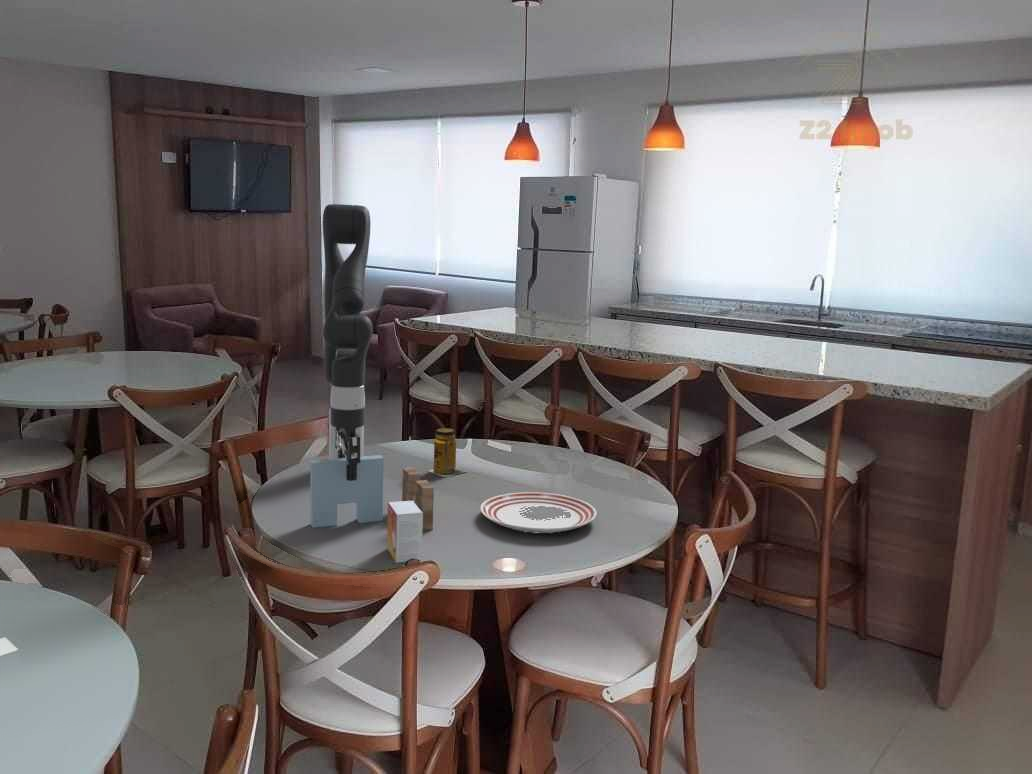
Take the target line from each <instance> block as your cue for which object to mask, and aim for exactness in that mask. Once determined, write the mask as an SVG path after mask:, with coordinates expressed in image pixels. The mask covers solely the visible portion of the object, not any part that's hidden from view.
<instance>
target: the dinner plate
mask: <svg viewBox="0 0 1032 774" xmlns="http://www.w3.org/2000/svg"><path fill="white" fill-rule="evenodd" d="M525 506H526V507H525ZM532 506H534V507H538V506H545V507H556V508H561V509H563V510H567V511H564V512H570V514H571V517H570V518H564V517H566V516H565V515H563V518H562V516H559V517H560V518H557V517H555V518H556V519H552V518H547V519H551V520H546V519H542V520H539V519H538V521H537V520H536V519H534V520H531V519H532V518H531V519H529V518H524V517H526V516H523V517H522V515H524V514H522V515H520V513H523V511H522V510H525V508H528V507H532ZM523 507H525V508H523ZM520 508H523V509H520ZM532 508H533V507H532ZM479 509H480V512H481V513H482V514H483V516H484V517H485V518H487V519H488V520H490V521H492V522H493V523H495V524H497V525H499V526H502V527H506V528H508V529H511V528H512V529H511V530H514V529H516V530H515V531H517V530H520V531H519V532H521V531H527V532H539V533H549V534H552V533H551V532H558V533H561V531H563V532H567V531H571V530H574V529H577V528H581V527H583V526H585V525H588V524H589V523H591V522H592V521H593V520H595V518H596V516H597V510H596V508H595V507H594V506H592V504H591V503H588V502H586V501H585V500H581V499H578V498H575V497H572V496H568V495H563V494H558V493H550V492H539V491H537V492H536V491H529V492H528V491H527V492H526V491H524V492H523V491H522V492H511V493H510V492H509V493H505V494H500V495H496V496H493V497H490V498H488V499H486V500H484V501H483V502H482V503H481V504H480V508H479ZM528 510H530V509H528ZM519 511H522V512H519ZM526 511H527V510H525V511H524V512H526ZM530 512H532V511H530ZM527 513H528V512H527ZM544 520H545V521H544ZM527 532H526V533H527Z"/></svg>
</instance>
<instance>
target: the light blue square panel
mask: <svg viewBox="0 0 1032 774" xmlns="http://www.w3.org/2000/svg"><path fill="white" fill-rule="evenodd" d="M351 458H354V457H351ZM360 460H361V461H360V463H358V464H357V479H356V480H354V481H348V480H347V479H346V458H333V459H329V458H322V459H321V458H320V459H310V460H309V461H310V462H309V465H310V469H309V470H310V474H309V475H310V476H309V481H310V485H309V489H310V493H309V494H310V495H309V496H310V499H309V500H310V502H309V503H310V504H309V505H310V507H309V508H310V512H309V513H310V516H309V517H310V521H309V522H310V527H312V529H314V528H324V527H334V526H338V505H343V504H344V505H345V504H353V503H354V504H355V503H356V505H355V507H356V511H355V513H356V514H355V515H356V516H355V517H356V521H357V522H358V523H359V524H363V523H373V522H382V521H383V515H384V514H383V511H384V509H383V506H384V460H385V459H384V457H383V455H381V454H377V455H376V454H375V455H363V456H361V457H360Z"/></svg>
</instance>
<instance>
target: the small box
mask: <svg viewBox="0 0 1032 774" xmlns="http://www.w3.org/2000/svg"><path fill="white" fill-rule="evenodd" d="M386 527H387V528H386V532H387V533H386V535H387V536H386V549H387V551H388V552H389V554H390V555H391V557H392V559H393V560H394V562H395V563H396V564H398V563H399V564H400V563H405V562H406V561H407V560H408V559H411V558H416V559H418V560H419V561H422V555H423V554H422V552H423V549H422V547H423V531H422V527H423V513H422V511H421V510H420V509H419V508H418V507H417V505H416V504H415V503H414V501H402V500H399V501H389V502H387V526H386ZM406 563H407V562H406Z"/></svg>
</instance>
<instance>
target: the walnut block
mask: <svg viewBox="0 0 1032 774" xmlns="http://www.w3.org/2000/svg"><path fill="white" fill-rule="evenodd" d="M420 478H421V477H420V473H419V471H417V469H415V468H414V466H410V467H402V483H401V485H402V486H401V489H402V490H401V494H402V495H401V501H414V503H415V504H416V505H417V507H418V508H419V509H420V510H421V511H422V513H423V527H422V532H423V531H433V529H434V528H433V527H434V526H433V525H434V499H435V498H434V496H435V494H434V493H435V487H434V486H433V484H431V483H430V482H429V480H427V479H425V480H421V479H420Z"/></svg>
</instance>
